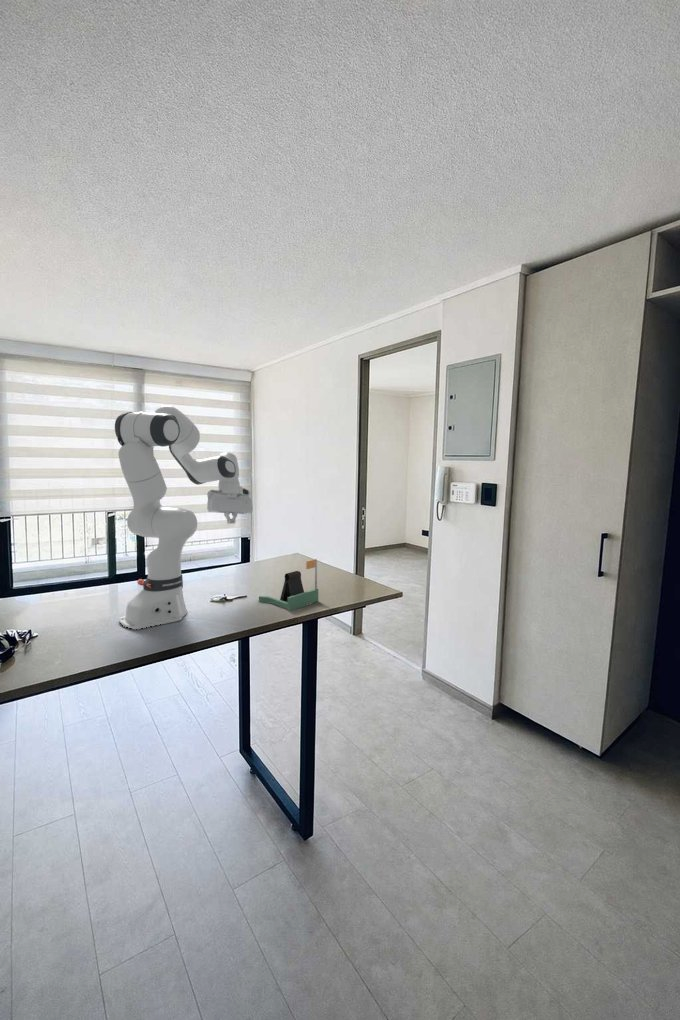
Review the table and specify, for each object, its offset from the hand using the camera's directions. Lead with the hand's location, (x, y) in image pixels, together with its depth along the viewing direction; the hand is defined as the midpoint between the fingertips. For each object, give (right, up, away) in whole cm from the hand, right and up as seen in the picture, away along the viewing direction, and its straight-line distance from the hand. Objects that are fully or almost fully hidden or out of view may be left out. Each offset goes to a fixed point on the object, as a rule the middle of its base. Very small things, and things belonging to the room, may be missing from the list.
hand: (231, 523), depth 187 cm
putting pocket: (+25, -30, -11) cm, 41 cm away
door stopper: (+27, -31, -12) cm, 43 cm away
